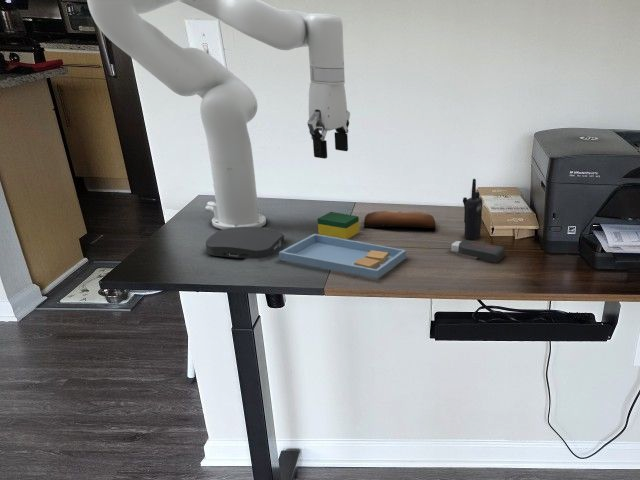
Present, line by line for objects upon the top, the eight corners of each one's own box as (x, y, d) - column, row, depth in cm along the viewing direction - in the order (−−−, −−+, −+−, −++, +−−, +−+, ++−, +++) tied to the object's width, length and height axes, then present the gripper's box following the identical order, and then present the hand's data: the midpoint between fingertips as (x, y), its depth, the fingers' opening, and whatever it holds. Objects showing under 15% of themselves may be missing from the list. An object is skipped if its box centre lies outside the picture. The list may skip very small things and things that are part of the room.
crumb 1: (354, 268, 145) (354, 262, 145) (364, 263, 149) (364, 257, 148) (370, 272, 144) (369, 266, 143) (380, 266, 147) (380, 260, 147)
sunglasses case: (433, 220, 179) (434, 202, 174) (434, 240, 176) (435, 223, 170) (364, 218, 177) (363, 200, 171) (364, 239, 173) (363, 221, 167)
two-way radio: (473, 241, 168) (476, 180, 161) (457, 238, 170) (459, 178, 162) (482, 235, 173) (485, 176, 165) (466, 232, 174) (469, 173, 167)
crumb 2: (365, 261, 149) (365, 255, 149) (371, 256, 153) (371, 250, 152) (382, 264, 149) (382, 258, 148) (388, 258, 152) (388, 252, 152)
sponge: (318, 236, 163) (317, 218, 161) (331, 229, 169) (330, 211, 166) (346, 241, 162) (345, 223, 159) (359, 234, 167) (358, 216, 165)
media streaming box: (228, 235, 159) (226, 223, 158) (289, 240, 159) (288, 228, 158) (200, 256, 147) (198, 243, 145) (267, 262, 147) (265, 249, 145)
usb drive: (496, 263, 156) (497, 251, 155) (449, 253, 159) (449, 242, 158) (504, 256, 160) (505, 245, 159) (458, 247, 164) (458, 236, 162)
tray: (280, 262, 147) (279, 252, 146) (315, 243, 159) (314, 233, 158) (377, 281, 142) (377, 270, 140) (406, 260, 154) (406, 250, 152)
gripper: (332, 71, 160) (335, 145, 168) (291, 77, 145) (297, 158, 154) (360, 74, 158) (362, 149, 167) (322, 80, 144) (326, 163, 152)
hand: (331, 153), depth 160 cm, fingers open, 9 cm apart
